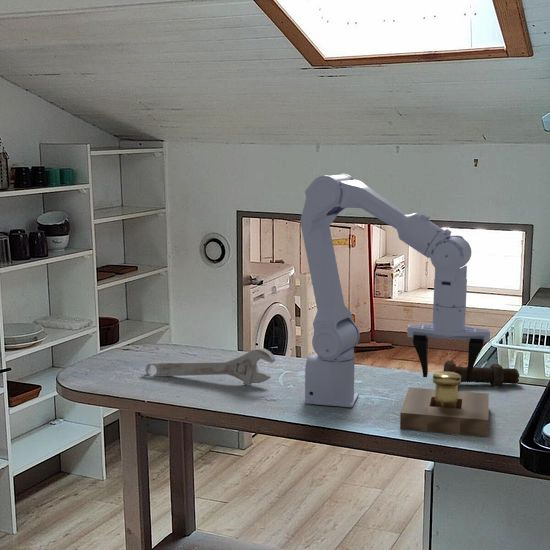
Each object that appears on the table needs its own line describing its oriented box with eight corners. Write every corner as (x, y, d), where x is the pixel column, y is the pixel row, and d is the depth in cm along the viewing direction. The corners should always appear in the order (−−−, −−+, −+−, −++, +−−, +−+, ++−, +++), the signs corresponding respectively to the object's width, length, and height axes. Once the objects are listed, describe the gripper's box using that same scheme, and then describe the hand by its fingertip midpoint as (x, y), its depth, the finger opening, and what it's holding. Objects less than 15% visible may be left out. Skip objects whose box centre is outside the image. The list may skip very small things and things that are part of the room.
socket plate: (400, 428, 140) (400, 412, 140) (408, 402, 154) (408, 387, 154) (487, 436, 136) (488, 420, 136) (487, 408, 150) (488, 393, 150)
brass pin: (431, 420, 144) (432, 378, 143) (432, 411, 149) (433, 370, 147) (459, 423, 143) (461, 380, 141) (459, 413, 148) (461, 372, 146)
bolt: (517, 394, 165) (445, 392, 165) (512, 376, 169) (441, 374, 169) (523, 375, 161) (450, 373, 161) (518, 357, 165) (446, 355, 165)
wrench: (151, 386, 175) (278, 384, 164) (147, 388, 173) (275, 387, 162) (146, 350, 174) (273, 347, 163) (142, 353, 172) (270, 349, 161)
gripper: (491, 302, 144) (487, 374, 146) (410, 297, 147) (408, 368, 150) (491, 310, 137) (487, 385, 139) (407, 305, 141) (404, 378, 143)
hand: (446, 377), depth 144 cm, fingers open, 7 cm apart
